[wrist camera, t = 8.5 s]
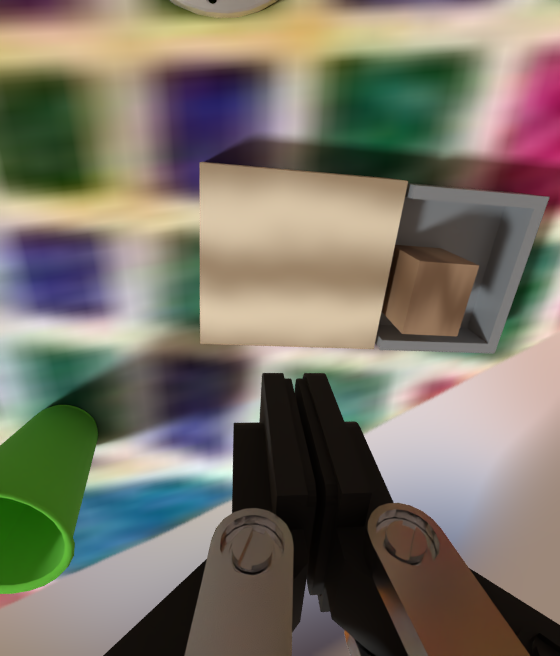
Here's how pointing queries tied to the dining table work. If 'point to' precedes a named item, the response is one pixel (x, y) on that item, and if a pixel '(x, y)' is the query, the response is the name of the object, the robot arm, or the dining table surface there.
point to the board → (294, 255)
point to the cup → (42, 495)
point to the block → (428, 290)
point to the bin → (469, 257)
